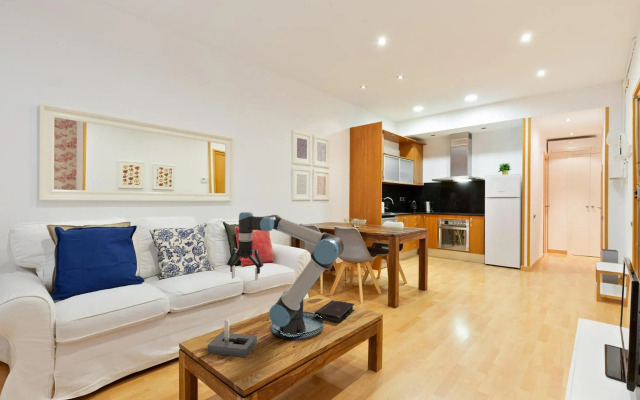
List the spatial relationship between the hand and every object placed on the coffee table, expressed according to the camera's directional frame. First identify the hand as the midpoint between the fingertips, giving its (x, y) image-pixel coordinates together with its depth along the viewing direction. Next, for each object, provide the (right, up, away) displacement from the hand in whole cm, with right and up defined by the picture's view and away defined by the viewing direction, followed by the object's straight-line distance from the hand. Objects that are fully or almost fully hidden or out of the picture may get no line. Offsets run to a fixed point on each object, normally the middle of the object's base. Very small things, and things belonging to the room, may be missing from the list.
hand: (244, 278), depth 168 cm
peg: (-6, -32, -12) cm, 35 cm away
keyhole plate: (-3, -32, -13) cm, 35 cm away
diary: (+52, -33, +34) cm, 70 cm away
